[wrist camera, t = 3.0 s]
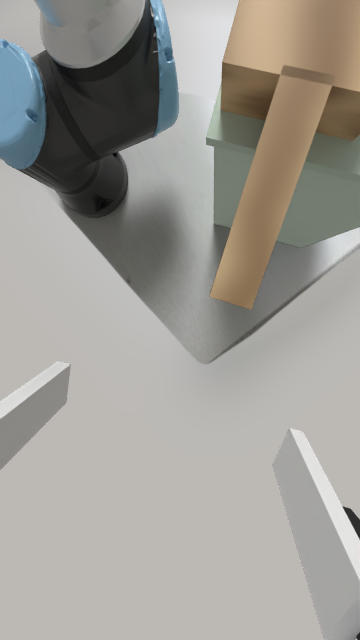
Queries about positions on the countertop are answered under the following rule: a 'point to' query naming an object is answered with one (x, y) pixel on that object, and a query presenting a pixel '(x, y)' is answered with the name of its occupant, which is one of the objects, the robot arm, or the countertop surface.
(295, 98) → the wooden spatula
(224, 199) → the sage green shelf box
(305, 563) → the robot arm
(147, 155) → the countertop surface
